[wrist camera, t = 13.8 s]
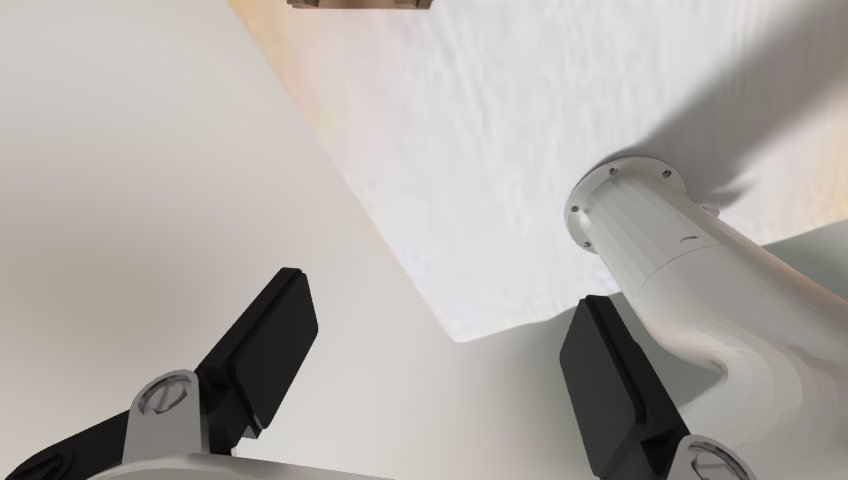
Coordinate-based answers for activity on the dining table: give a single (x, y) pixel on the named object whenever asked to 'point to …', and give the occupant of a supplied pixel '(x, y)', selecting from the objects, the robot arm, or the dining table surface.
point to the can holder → (359, 4)
